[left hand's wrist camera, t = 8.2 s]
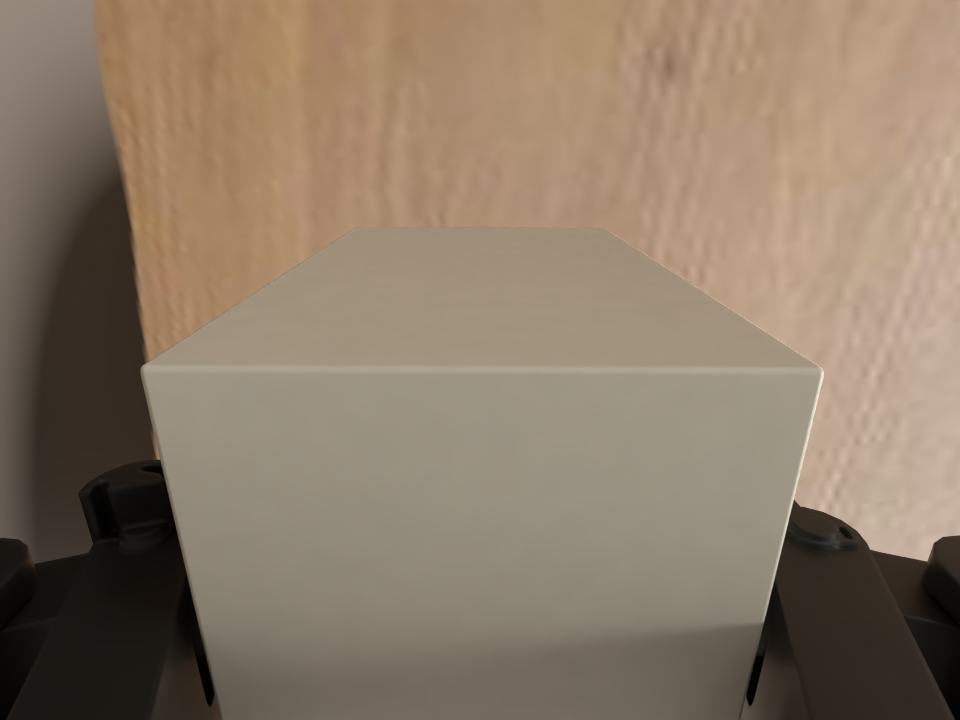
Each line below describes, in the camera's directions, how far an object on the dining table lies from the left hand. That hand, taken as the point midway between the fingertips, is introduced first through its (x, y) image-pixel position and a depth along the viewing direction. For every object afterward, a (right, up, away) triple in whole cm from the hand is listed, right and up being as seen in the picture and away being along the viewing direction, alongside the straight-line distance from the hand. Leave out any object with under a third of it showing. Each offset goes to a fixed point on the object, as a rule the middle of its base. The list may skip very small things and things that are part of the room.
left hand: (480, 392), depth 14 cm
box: (0, -7, +3) cm, 8 cm away
